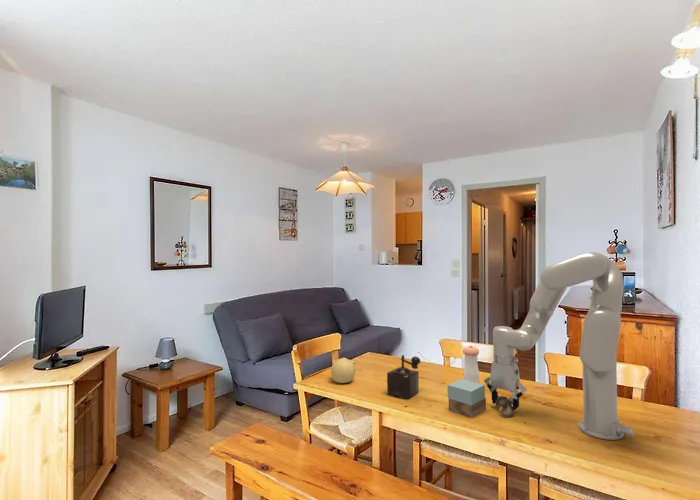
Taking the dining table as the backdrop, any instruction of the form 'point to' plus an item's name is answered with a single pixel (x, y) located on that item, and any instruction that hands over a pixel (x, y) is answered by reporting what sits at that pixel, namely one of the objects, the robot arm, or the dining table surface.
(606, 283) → the robot arm
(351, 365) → the sculpture
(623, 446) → the dining table surface
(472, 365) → the pepper shaker
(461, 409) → the tower base
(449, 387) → the tower top
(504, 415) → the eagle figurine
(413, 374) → the manual coffee grinder
